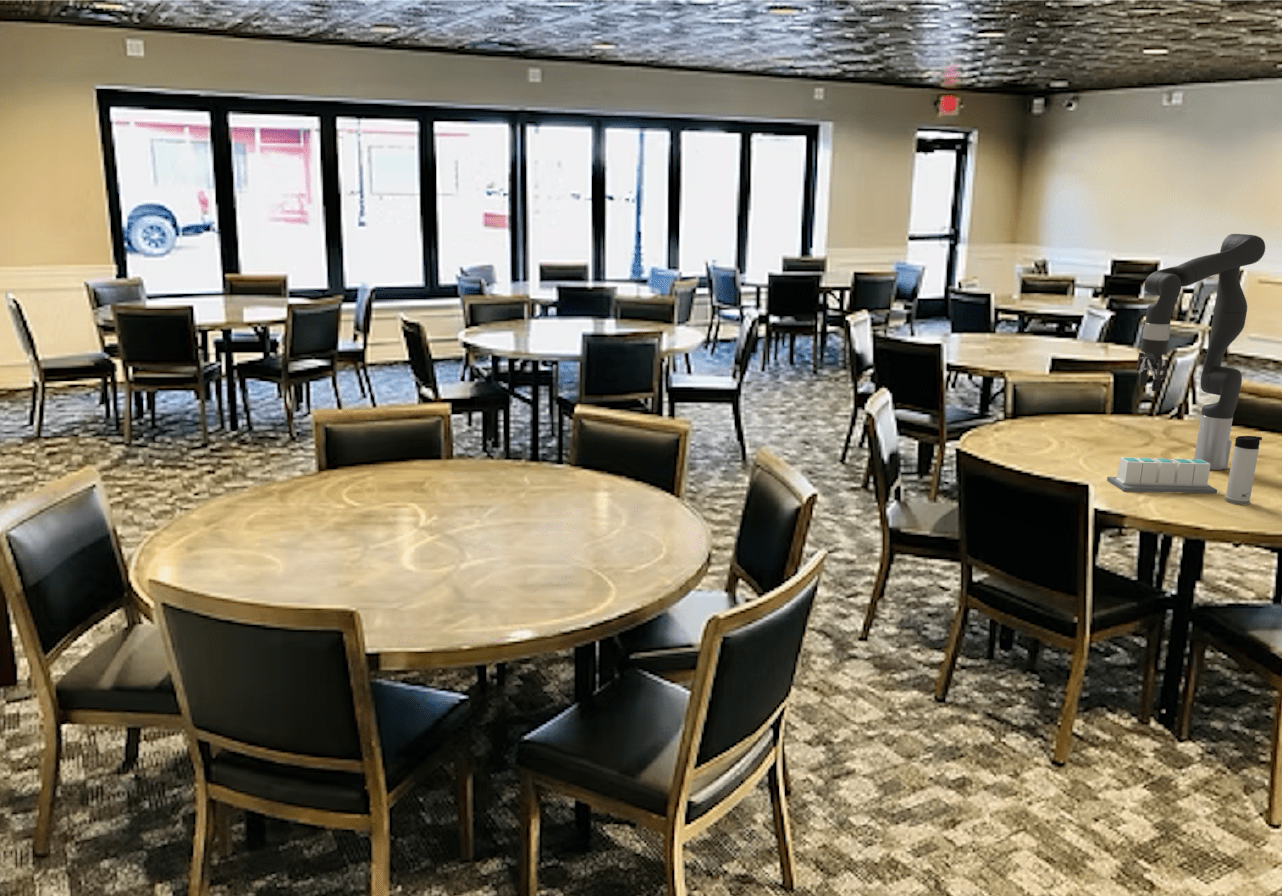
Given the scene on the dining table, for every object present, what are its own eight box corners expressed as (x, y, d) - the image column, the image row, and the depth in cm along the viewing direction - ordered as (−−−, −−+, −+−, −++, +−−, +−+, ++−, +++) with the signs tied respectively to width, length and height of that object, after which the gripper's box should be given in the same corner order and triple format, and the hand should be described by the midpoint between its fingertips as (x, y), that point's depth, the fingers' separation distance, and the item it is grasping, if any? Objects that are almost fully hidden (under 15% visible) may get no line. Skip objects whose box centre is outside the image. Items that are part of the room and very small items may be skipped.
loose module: (1164, 478, 325) (1167, 457, 324) (1173, 483, 320) (1176, 462, 318) (1150, 478, 325) (1153, 457, 324) (1158, 483, 320) (1161, 462, 318)
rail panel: (1196, 482, 329) (1200, 456, 327) (1216, 493, 317) (1221, 466, 315) (1106, 480, 329) (1110, 453, 327) (1123, 491, 317) (1127, 464, 315)
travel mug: (1248, 506, 305) (1260, 439, 300) (1223, 502, 309) (1234, 435, 304) (1252, 501, 310) (1263, 435, 305) (1227, 497, 314) (1238, 432, 309)
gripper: (1179, 341, 322) (1171, 393, 326) (1156, 334, 335) (1149, 384, 340) (1154, 341, 322) (1147, 393, 326) (1133, 333, 335) (1126, 384, 339)
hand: (1148, 388), depth 333 cm, fingers open, 8 cm apart
